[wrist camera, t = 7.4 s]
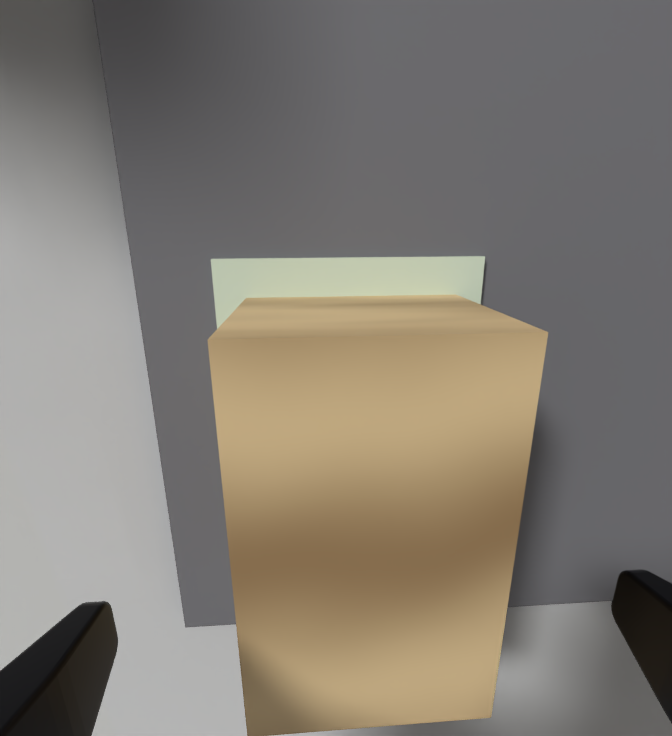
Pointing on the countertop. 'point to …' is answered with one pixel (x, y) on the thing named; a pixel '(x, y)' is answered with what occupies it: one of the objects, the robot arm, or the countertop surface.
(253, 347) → the oak block
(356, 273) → the mat
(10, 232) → the countertop surface
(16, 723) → the robot arm
